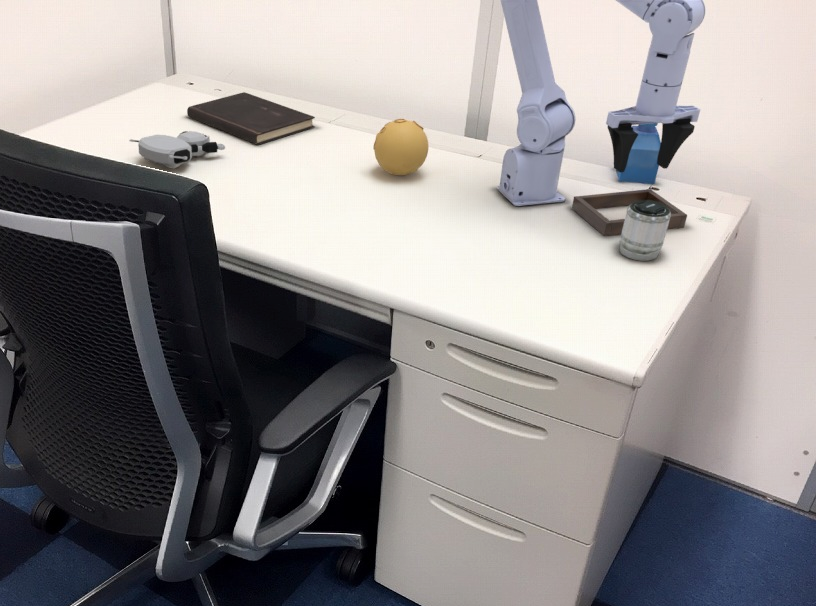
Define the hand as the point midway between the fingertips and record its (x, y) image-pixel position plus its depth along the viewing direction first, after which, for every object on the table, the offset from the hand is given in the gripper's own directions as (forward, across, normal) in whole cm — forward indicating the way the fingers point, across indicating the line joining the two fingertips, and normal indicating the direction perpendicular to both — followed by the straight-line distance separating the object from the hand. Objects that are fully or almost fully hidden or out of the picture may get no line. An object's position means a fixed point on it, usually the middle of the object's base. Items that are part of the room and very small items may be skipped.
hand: (640, 168), depth 136 cm
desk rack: (+9, +1, +2) cm, 10 cm away
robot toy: (+10, -70, +44) cm, 83 cm away
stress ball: (+10, -30, +28) cm, 43 cm away
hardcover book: (+10, -53, +62) cm, 82 cm away
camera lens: (+10, -4, -10) cm, 15 cm away
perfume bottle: (+10, +12, +18) cm, 23 cm away
